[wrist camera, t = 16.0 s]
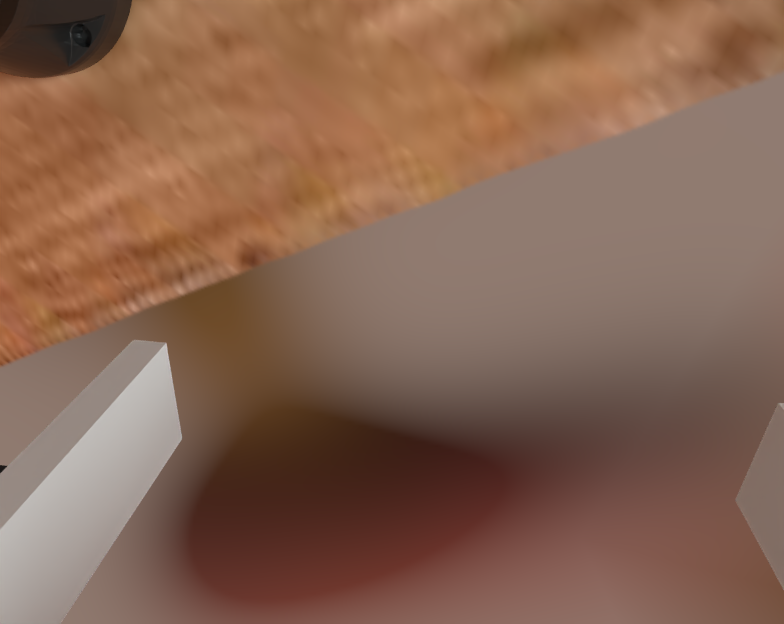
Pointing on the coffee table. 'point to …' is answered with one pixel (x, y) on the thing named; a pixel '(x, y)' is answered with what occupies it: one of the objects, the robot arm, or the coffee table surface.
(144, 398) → the robot arm
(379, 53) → the coffee table surface
